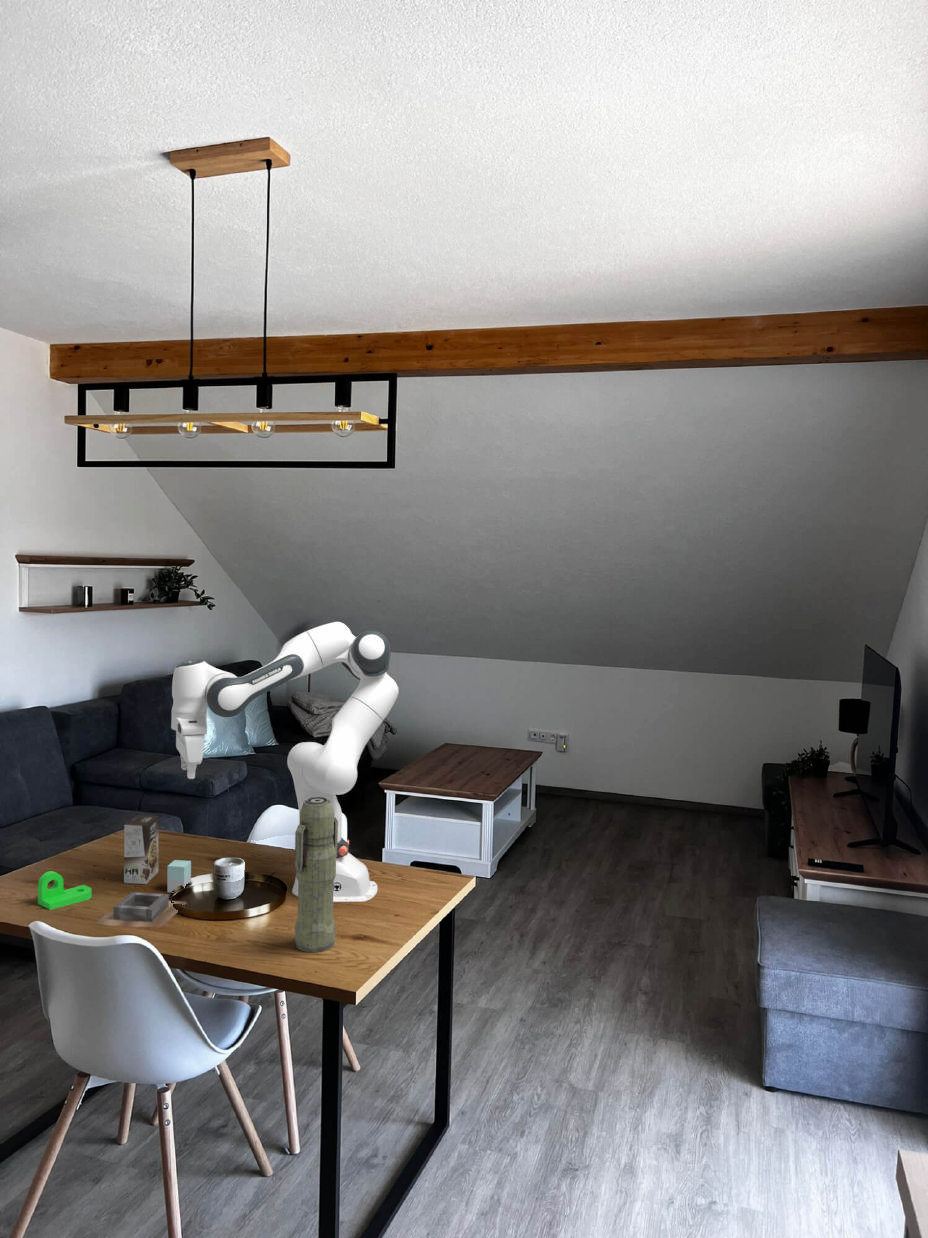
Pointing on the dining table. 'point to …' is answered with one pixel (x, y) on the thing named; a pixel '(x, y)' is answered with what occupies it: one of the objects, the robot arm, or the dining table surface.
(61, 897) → the mechanical part
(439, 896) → the dining table surface
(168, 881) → the pale teal block
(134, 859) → the coffee box
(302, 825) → the thermos
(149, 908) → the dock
